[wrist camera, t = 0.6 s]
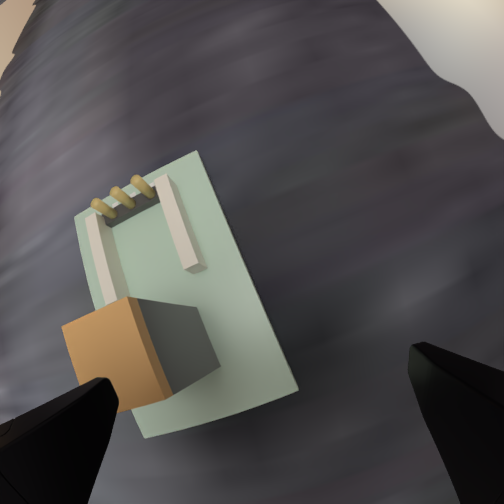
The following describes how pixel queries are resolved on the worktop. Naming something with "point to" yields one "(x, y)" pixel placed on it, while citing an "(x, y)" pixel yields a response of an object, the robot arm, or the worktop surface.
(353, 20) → the worktop surface
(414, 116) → the worktop surface
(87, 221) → the board
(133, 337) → the plug
